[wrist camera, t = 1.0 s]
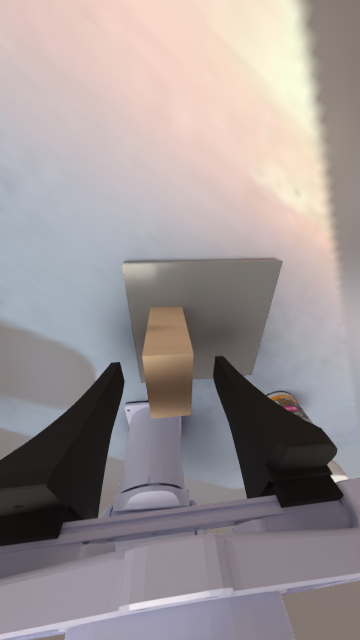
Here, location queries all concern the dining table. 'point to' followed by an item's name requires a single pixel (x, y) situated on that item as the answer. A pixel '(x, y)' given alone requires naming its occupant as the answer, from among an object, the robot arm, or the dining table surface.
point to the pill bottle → (293, 407)
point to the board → (206, 306)
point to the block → (168, 363)
